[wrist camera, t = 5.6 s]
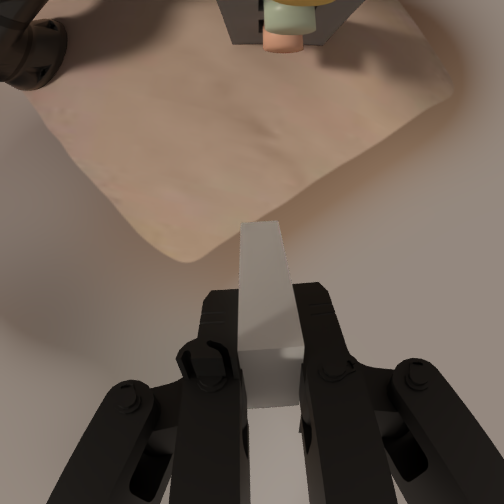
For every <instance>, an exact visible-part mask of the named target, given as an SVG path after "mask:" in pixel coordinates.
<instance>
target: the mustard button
mask: <svg viewBox="0 0 504 504" xmlns="http://www.w3.org/2000/svg"><path fill="white" fill-rule="evenodd" d="M273 1H275V2H277V3H281V4H285V5H291V6H319V5H325V4H329V3H331V2H334V1H335V0H273Z"/></svg>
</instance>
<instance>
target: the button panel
mask: <svg viewBox="0 0 504 504" xmlns="http://www.w3.org/2000/svg"><path fill="white" fill-rule="evenodd" d="M364 1H365V0H335V1H334V2H331V3H329V4H325V5H319V6H315V19H316V30H315V31H314V32H312V33H309V34H304V35H303V44H308V45H322V46H323V44H324V43H325V42H326V41H327V40H328V39H329V38H330V37H331V36H332V34H333V33H334V32H335V31H336V30H337V29H338V28H339V27H340V26H341V25H342V24H343V23H344V22H345V20H346V19H347V18H348V17H349V16H350V15H351V14H352V13H353V12H354V11H355V10H356V9H357V8H358V7H359V6H360V5H361V4H362V3H363V2H364ZM217 3H218V6H219V8H220V11H221V14H222V16H223V19H224V22H225V25H226V27H227V30H228V33H229V36H230V39H231V41H232V44H256V43H263V27H262V21H263V20H264V1H263V0H217Z"/></svg>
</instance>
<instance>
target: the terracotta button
mask: <svg viewBox="0 0 504 504" xmlns="http://www.w3.org/2000/svg"><path fill="white" fill-rule="evenodd" d="M262 27H263V49H264V50H265V51H268V52H273V53H294V52H299V51H302V50H303V35H278V34H273V33H270V32H267V31H266V30H265V24H264V20H263V21H262Z"/></svg>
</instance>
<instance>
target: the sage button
mask: <svg viewBox="0 0 504 504" xmlns="http://www.w3.org/2000/svg"><path fill="white" fill-rule="evenodd" d="M263 1H264V24H265V30H266V31H267V32H270V33H273V34H278V35H304V34H309V33H312V32H314V31H315V30H316V19H315V6H291V5H285V4H281V3H277V2H275V1H273V0H263Z"/></svg>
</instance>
